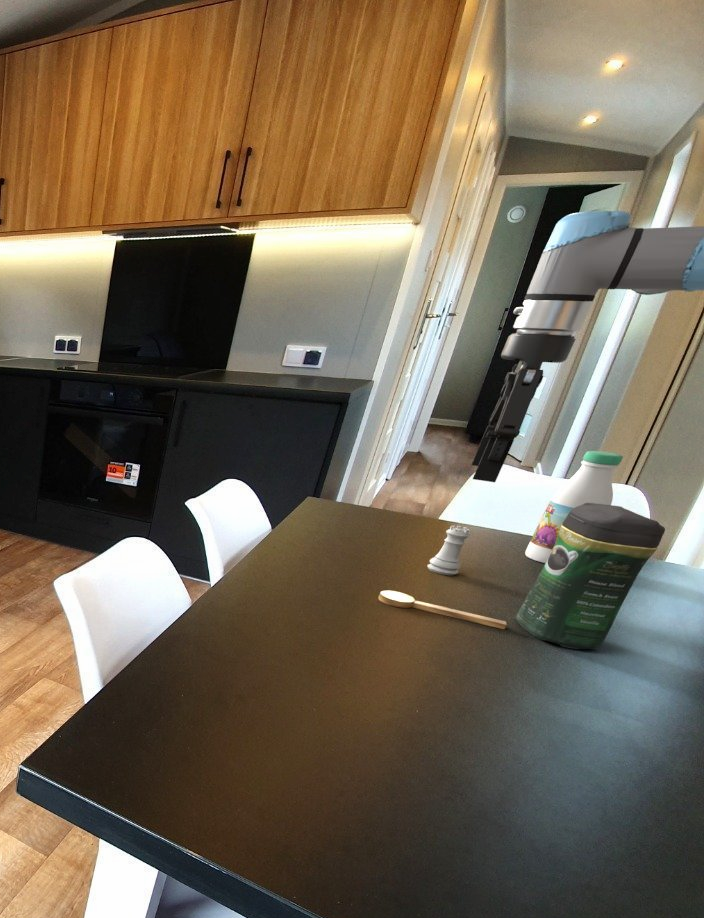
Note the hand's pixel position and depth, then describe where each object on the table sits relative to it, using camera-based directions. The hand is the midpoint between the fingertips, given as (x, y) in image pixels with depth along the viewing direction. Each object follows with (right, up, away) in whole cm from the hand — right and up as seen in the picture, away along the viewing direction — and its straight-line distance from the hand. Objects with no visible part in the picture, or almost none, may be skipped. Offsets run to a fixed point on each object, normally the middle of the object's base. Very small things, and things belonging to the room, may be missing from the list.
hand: (482, 473), depth 104 cm
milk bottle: (+26, -14, +14) cm, 32 cm away
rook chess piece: (0, -16, +7) cm, 18 cm away
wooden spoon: (-15, -22, -8) cm, 28 cm away
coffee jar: (-3, -26, -14) cm, 30 cm away
